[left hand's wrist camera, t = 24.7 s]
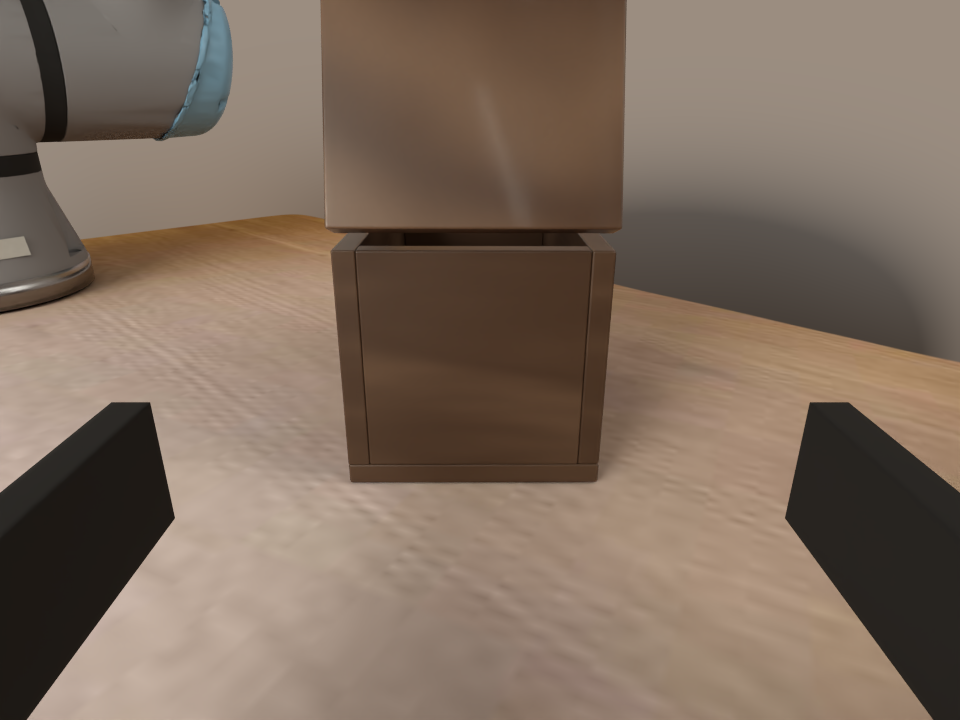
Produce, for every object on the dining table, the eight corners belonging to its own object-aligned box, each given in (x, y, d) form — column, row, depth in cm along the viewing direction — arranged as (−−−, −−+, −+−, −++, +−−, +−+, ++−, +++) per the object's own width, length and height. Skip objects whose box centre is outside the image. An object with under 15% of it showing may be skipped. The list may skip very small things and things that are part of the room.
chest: (397, 338, 39) (389, 189, 36) (550, 338, 39) (557, 189, 36) (349, 483, 24) (330, 250, 21) (597, 482, 24) (617, 250, 21)
